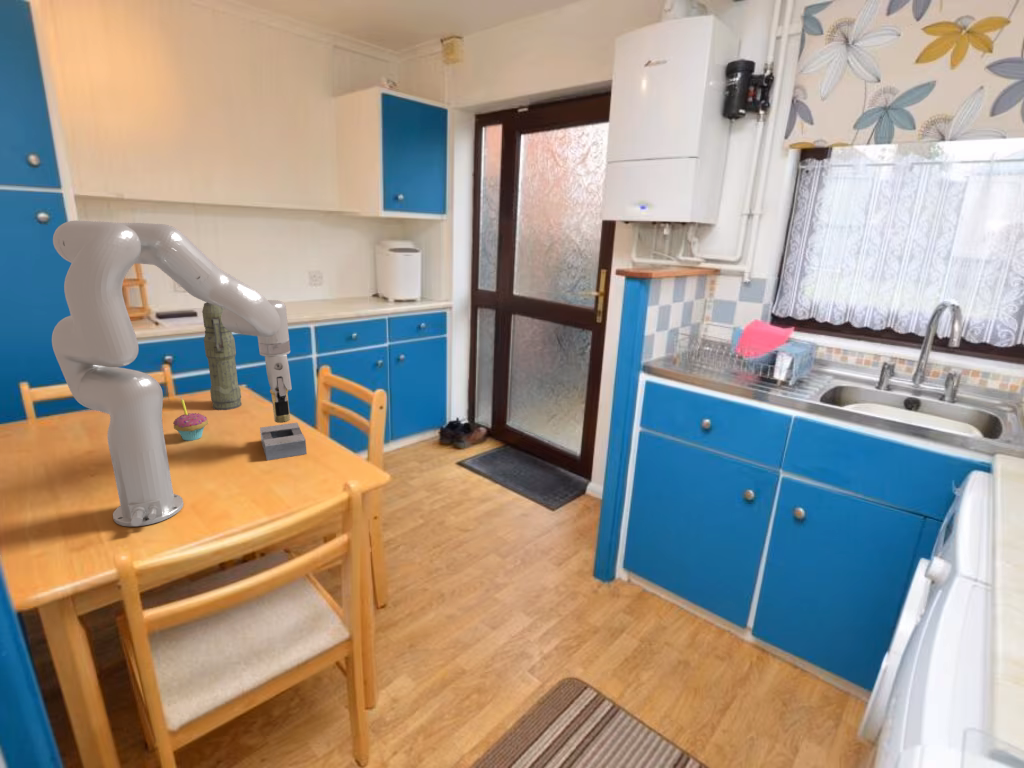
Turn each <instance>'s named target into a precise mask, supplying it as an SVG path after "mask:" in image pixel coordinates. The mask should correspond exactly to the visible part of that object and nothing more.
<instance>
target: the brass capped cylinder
mask: <svg viewBox="0 0 1024 768" xmlns="http://www.w3.org/2000/svg"><path fill="white" fill-rule="evenodd" d="M285 388H286V387H285ZM277 390H278V389H276V391H277ZM269 393H270V394H271V400H272V401H271V402H272V410H273V420H274V423H278V424H284V423H287V422H289V421H290V420H291V415H290V412H289V414H288V415H283V416H276V410H275V402H276V400H275V392H273V391H272V390H271V388H270V389H269ZM288 393H289V390H287V388H286V396H287V400H288V401H289V395H288ZM278 394H279V393H277V396H278ZM288 409H289V410H290V405H289V402H288Z"/></svg>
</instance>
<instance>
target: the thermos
mask: <svg viewBox="0 0 1024 768" xmlns="http://www.w3.org/2000/svg"><path fill="white" fill-rule="evenodd" d="M202 307H203V308H202V311H201V312H202V319H203V327H204V337H203V338H204V339H203V343H204V345H203V346H204V352H205V357H206V359H207V361H208V363H207V364H208V368H209V369H208V370H209V377H210V389H209V390H210V391H209V393H210V398H211V399H210V400H211V402H212V408H213V409H214V410H218V411H227V410H233V409H234V410H235V409H237V408H239V407H241V406H242V404H243V403H242V399H241V398H242V392H241V387H240V386H239V382H238V373H237V363H236V355H237V352H236V351H237V350H236V342H235V341H236V340H235V337H234V335H233V332H231V331H229V330H227V329H226V328H225V327H224V326H223V324H222V321H221V315H222V313H223V311H224V310H225V308H222V307H219V306H216V305H213V304H210V303H207V302H204V303H203V306H202Z"/></svg>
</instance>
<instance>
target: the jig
mask: <svg viewBox="0 0 1024 768" xmlns="http://www.w3.org/2000/svg"><path fill="white" fill-rule="evenodd" d="M259 431H260V432H259V433H260V441H261V445H262V449H263V452H264V455H265V459H266V461H271V460H278V459H284V458H291V457H298V456H302V455H307V454H308V453H307V441H306V438H305V436H304V433H303V431H301V427H300V425H299V423H298V422H291V423H290V422H289V423H282V424H276V425H270V426H262V427H259Z"/></svg>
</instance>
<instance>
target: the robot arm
mask: <svg viewBox="0 0 1024 768" xmlns="http://www.w3.org/2000/svg"><path fill="white" fill-rule="evenodd" d="M52 244H53V247H54V249H55V251H56V253H58V255H59V256H61V258H62V259H63V260H65V261H67V262H69V263H71V264H70V266H69V268H68V270H67V273H66V275H65V278H64V284H63V285H64V286H63V288H64V290H63V291H64V297H65V301H66V304H67V307H68V309H69V314H70V315H68V316H66V317H64V318H62V319H61V320H59V321H58V322H57V324H56V325H55V326H54V329H53V330H52V335H51V345H52V349H53V353H54V356H55V357H56V361H57V363H58V365H59V367H60V370H61V372H62V375H63V378H64V379H65V382H66V384H67V386H68V388H69V391H70V393H71V395H72V397H73V398H74V400H75V401H77V403H79V404H80V405H82V406H83V407H84V408H87V409H90V410H93V411H96V412H101V413H104V414H107V415H109V418H110V419H109V420H110V421H109V424H108V428H107V445H108V449H109V454H110V459H111V465H112V469H113V475H114V478H115V486H116V489H117V495H118V499H119V506H118V507H117V508H116V509H115V510H114V511H113V512H112V519H113V521H114V522H115V523H116V524H117V525H118V526H122V527H143V526H149V525H153V524H157V523H160V522H162V521H166V520H167V519H169V518H172V517H173V516H175V515H177V513H179V512H180V511H181V510H182V509H183V507H184V499H183V497H181V496H180V495H179V494H176V493H174V489H173V484H172V477H171V471H170V470H171V469H170V464H169V458H168V452H167V446H166V440H165V435H164V427H163V404H164V392H163V389H162V387H161V385H160V383H159V382H158V380H157V379H156V378H154V377H153V376H152V375H150V374H148V373H145V372H143V371H141V370H135V369H131V368H125V367H126V366H128V365H131V363H133V362H134V361H135V360H136V358H137V357H138V355H139V352H140V351H139V341H138V338H137V335H136V333H135V328H134V327H133V323H132V321H131V319H130V315H129V312H128V309H127V306H126V303H125V299H124V296H123V295H124V294H123V284H124V280H125V278H126V275H127V274H128V272H129V271H130V270H131V268H132V267H133V266H134V265H136V264H139V265H140V264H142V265H152V266H155V267H157V268H158V269H160V270H161V271H162V272H163V273H164V274H166V275H167V276H168V277H170V279H172V280H173V281H174V282H175V283H176V284H178V286H180V287H181V288H182V289H184V291H186V293H188V294H189V295H190V296H192V297H194V298H196V299H198V300H200V301H202V302H204V303H206V302H207V303H210V304H213V305H216V306H219V307H222V308H225V310H224V311H223V313H222V315H221V321H222V324H223V326H224V327H225V328H226V329H227V330H229V331H231V332H232V333H234V334H238V335H244V336H252V337H257V343H258V349H259V350H258V351H259V355H260V356H262V357H264V361H265V368H266V375H267V380H268V384H269V387H270V389H271V390H272V391H273V392H275V400H276V402H275V410H276V416H283V415H288V414H289V413H290V408H289V409H288V403H289V399H288V400H287V396H286V388H287V390H288V392H289V391H291V390H293V389H292V380H291V374H290V365H289V360H288V355H289V354H290V353H291V345H290V344H291V343H290V335H289V325H288V314H287V306H286V304H285V303H284V302H283V301H281V300H275V299H273V300H272V299H267V298H265V297H264V296H263V294H261V293H260V292H258V291H257V290H255V289H254V288H253V287H251V286H249V285H248V284H246V283H244V282H242V281H241V280H240V279H238V278H236V277H234V276H233V275H231V274H229V273H227V272H225V271H224V270H222V269H221V268H220V267H219V266H218V265H217V264H216V263H214V262H213V261H212V260H211V259H210V258H209V257H208V256H207V255H206V254H205V253H204V252H203V251H202V250H201V249H200V248H199V247H198V246H197V245H195V244H194V242H193V241H191V239H190V238H189V237H188V236H186V235H185V234H184V232H182V231H181V230H179V229H178V228H177V227H174V226H172V225H169V224H163V223H149V222H148V223H144V222H112V221H100V220H99V221H96V220H95V221H93V220H69V221H66V222H64V223H62V224H60V225H59V226H58V227H57V228H56V229H55V231H54V233H53V237H52ZM285 387H286V388H285ZM276 389H278V390H277V391H276ZM277 393H279V394H278V396H277Z"/></svg>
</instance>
